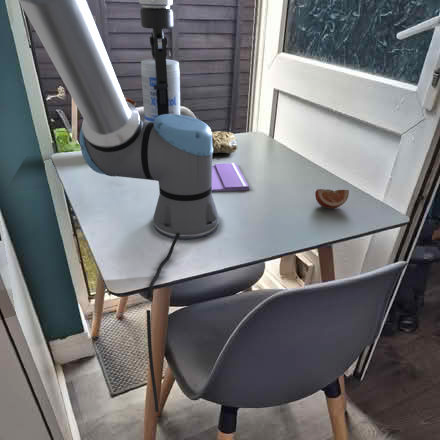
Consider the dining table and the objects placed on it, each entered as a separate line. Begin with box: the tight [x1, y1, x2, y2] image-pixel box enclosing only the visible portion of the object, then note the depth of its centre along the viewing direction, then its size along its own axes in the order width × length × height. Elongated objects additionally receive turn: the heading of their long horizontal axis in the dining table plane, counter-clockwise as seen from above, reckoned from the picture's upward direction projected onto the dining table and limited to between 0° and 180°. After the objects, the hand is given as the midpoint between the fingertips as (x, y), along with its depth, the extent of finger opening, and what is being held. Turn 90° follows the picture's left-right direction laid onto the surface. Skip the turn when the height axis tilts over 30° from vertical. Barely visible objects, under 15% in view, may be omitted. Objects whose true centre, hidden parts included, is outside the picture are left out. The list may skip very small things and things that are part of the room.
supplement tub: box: [140, 58, 181, 122], centre depth 100 cm, size 10×10×15 cm
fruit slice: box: [314, 188, 350, 209], centre depth 100 cm, size 8×7×5 cm
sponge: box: [211, 130, 238, 154], centre depth 128 cm, size 13×8×20 cm
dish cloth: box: [212, 162, 250, 193], centre depth 114 cm, size 18×13×1 cm
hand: (162, 111), depth 102 cm, fingers closed on supplement tub, 10 cm apart
